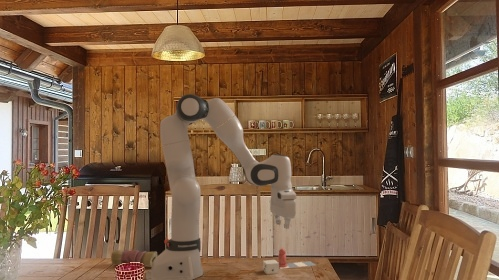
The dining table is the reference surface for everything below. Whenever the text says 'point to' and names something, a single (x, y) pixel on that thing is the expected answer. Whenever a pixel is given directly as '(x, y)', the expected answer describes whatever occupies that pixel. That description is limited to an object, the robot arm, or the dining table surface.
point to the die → (270, 266)
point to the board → (298, 264)
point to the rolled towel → (133, 257)
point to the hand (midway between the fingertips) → (282, 226)
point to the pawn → (282, 258)
